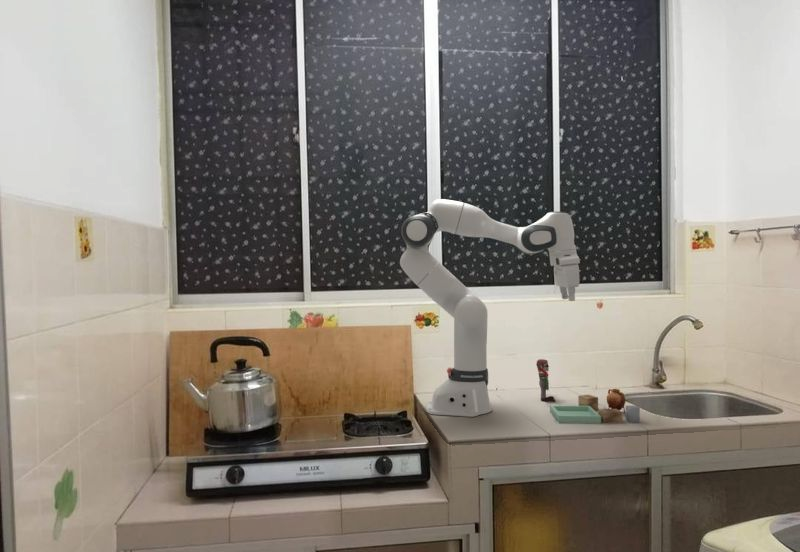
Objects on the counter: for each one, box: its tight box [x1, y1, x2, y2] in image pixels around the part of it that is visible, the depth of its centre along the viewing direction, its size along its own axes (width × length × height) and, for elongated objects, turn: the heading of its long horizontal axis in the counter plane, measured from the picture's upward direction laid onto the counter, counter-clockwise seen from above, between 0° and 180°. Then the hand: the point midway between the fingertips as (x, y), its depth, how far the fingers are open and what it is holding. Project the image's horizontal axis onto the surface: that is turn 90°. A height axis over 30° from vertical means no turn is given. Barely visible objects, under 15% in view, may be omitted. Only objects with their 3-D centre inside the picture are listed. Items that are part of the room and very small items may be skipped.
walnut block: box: [597, 408, 623, 424], centre depth 171 cm, size 6×4×4 cm, turn 96°
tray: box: [549, 404, 602, 424], centre depth 176 cm, size 13×13×2 cm
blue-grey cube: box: [625, 405, 641, 424], centre depth 170 cm, size 4×4×4 cm
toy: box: [536, 358, 556, 403], centre depth 198 cm, size 18×6×15 cm, turn 168°
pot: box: [606, 388, 627, 413], centre depth 180 cm, size 6×8×6 cm
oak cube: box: [577, 394, 599, 412], centre depth 185 cm, size 4×4×4 cm
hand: (568, 299), depth 183 cm, fingers open, 8 cm apart
